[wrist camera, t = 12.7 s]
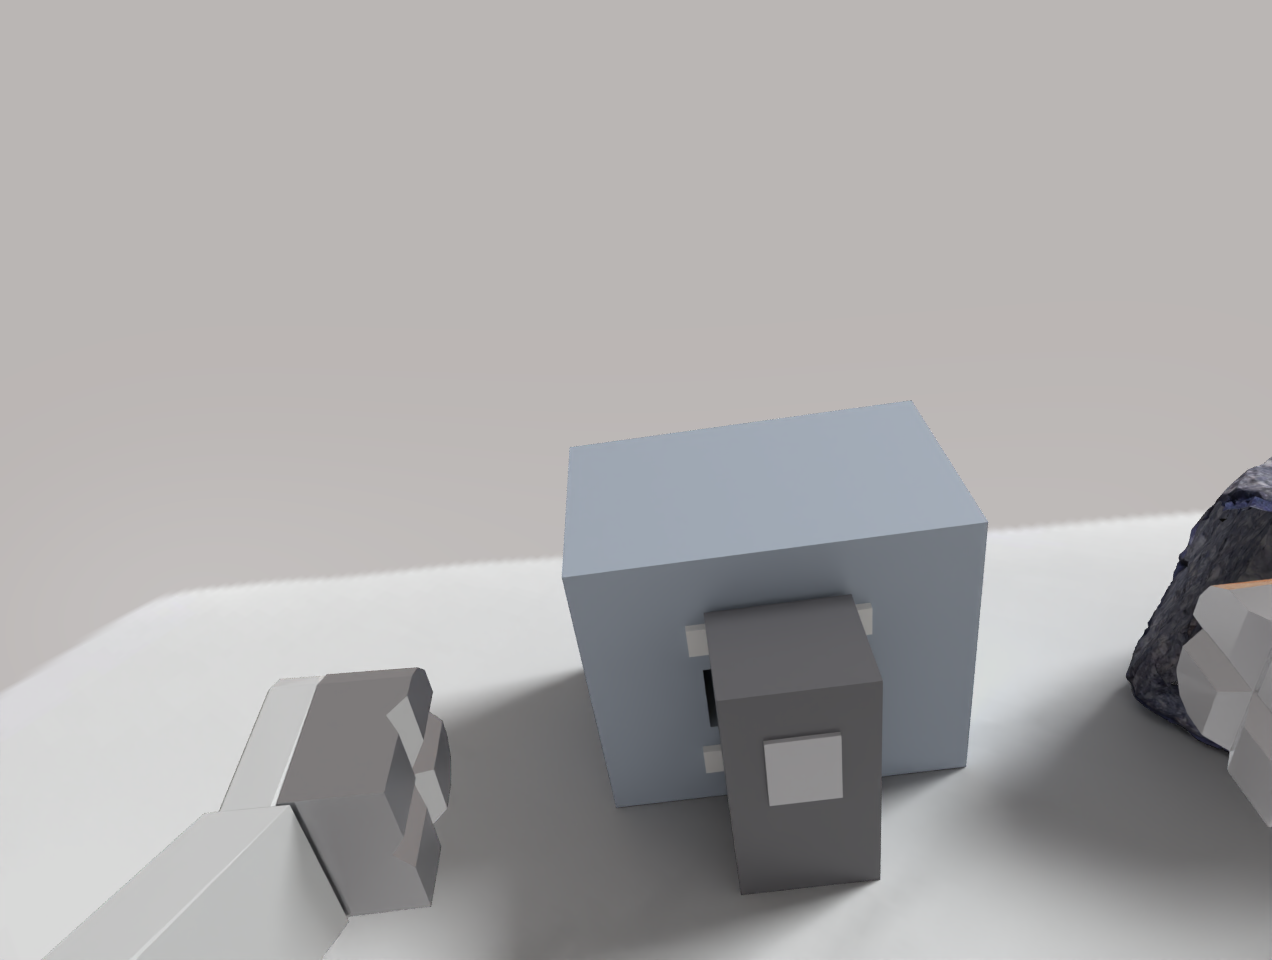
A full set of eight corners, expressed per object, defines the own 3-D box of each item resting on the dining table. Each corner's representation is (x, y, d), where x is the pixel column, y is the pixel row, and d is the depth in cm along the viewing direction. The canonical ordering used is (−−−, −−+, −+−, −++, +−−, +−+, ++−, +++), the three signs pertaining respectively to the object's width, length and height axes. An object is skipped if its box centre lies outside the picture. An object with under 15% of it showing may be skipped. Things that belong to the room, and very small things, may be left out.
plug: (741, 898, 32) (716, 704, 27) (717, 724, 39) (693, 542, 34) (881, 883, 32) (884, 684, 27) (831, 710, 39) (826, 524, 33)
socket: (616, 813, 36) (561, 583, 29) (613, 658, 43) (569, 447, 37) (968, 772, 35) (991, 527, 29) (904, 622, 43) (911, 400, 36)
